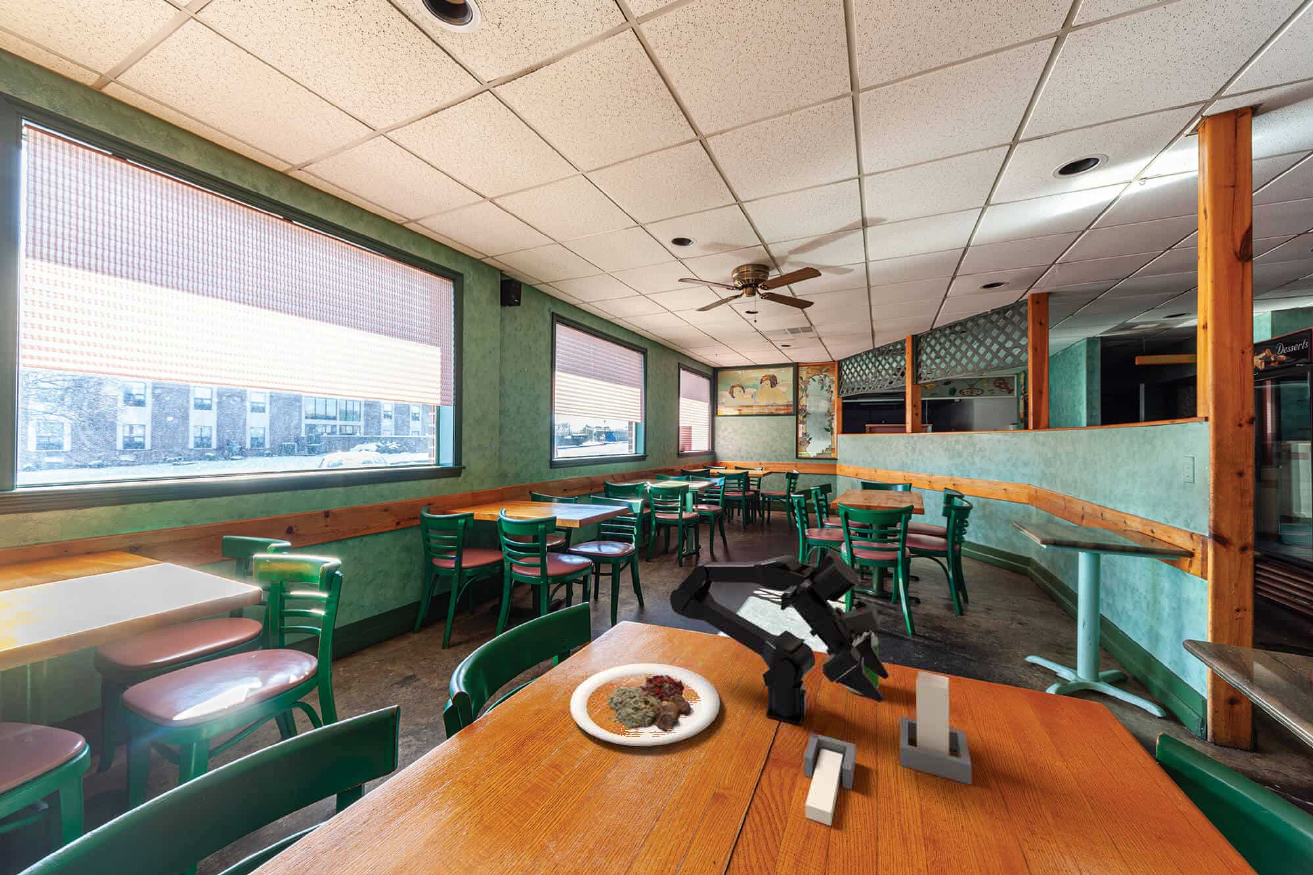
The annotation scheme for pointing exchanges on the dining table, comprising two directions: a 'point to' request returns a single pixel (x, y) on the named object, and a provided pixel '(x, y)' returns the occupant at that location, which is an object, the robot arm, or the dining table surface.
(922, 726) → the white rectangular block
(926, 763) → the grey square frame
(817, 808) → the cap with slat
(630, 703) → the plated food
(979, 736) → the dining table surface
